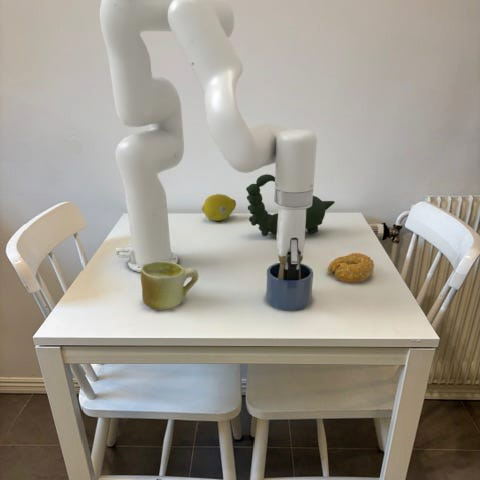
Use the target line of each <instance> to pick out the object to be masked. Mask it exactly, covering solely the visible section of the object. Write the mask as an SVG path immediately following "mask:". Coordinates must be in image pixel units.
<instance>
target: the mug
mask: <svg viewBox="0 0 480 480" xmlns="http://www.w3.org/2000/svg"><path fill="white" fill-rule="evenodd" d="M189 278H191V279H190V280H189V281H188V283H186V282H187V281H186V280H187V279H189ZM198 280H199V271H197V269H196V268H195V269H194V268H186V269H185V270H184V268H183V266H182V265H180V264H178V263H173V262H168V261H153V262H151V263H146V264H144V265H143V266H142V268H141V272H140V285H141V297H142V302H143V303H144V304H145V305H146V306H147V307H149V308H151V309H153V310H156V311H164V310H171V309H175V308H177V307H178V306H180V305H181V304H182V303H183V301H184V299H185V298H186V296H187V294H188V292H189V290H191V289H192V288H193V287H194V286H195V284H197V282H198ZM185 283H186V284H185Z"/></svg>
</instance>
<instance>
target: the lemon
mask: <svg viewBox="0 0 480 480" xmlns="http://www.w3.org/2000/svg"><path fill="white" fill-rule="evenodd" d="M236 206H237V201H236V200H235V199H233V198H231V197H229V196H228V195H225V194H221V193H216V194H212V195H209V196H208V197H206V198H205V200H204V202H203V205H202V207H201V211H202V212H203V213H204V215H205V217H206V218H207V219H208V220H209V221H210V220H211V221H214V222H220V221H223V220H226V219H227V218H229V216H231V215H232V213H233V212H234V210H235V209H236Z"/></svg>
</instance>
